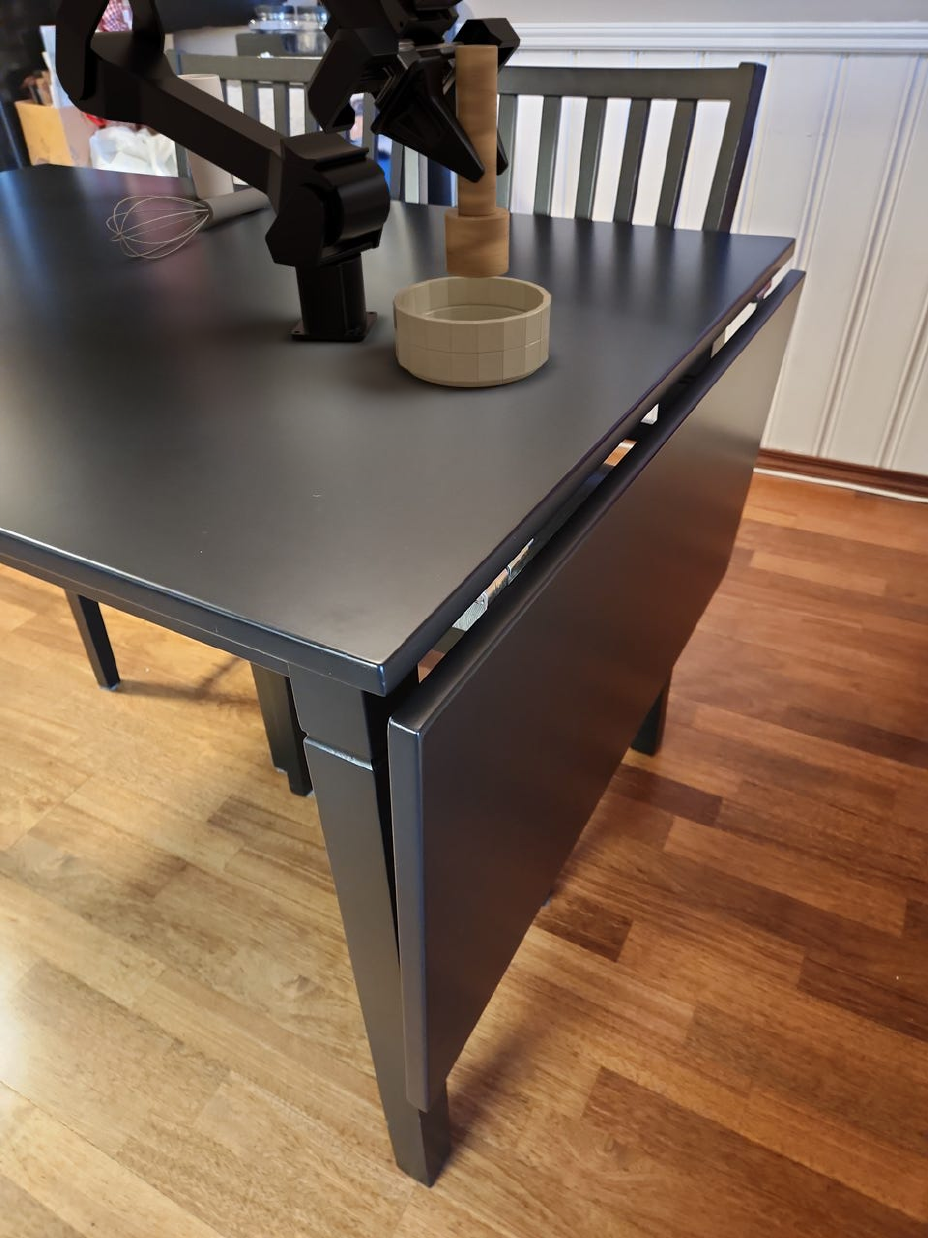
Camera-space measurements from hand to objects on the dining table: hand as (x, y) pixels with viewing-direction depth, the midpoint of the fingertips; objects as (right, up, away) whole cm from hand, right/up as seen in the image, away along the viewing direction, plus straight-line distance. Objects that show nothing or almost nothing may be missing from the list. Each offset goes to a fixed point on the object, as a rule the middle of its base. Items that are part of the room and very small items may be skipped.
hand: (492, 174), depth 58 cm
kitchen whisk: (-35, +17, +46) cm, 60 cm away
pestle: (-1, -5, +5) cm, 7 cm away
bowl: (-1, -10, +9) cm, 14 cm away
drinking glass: (-38, +30, +63) cm, 79 cm away
